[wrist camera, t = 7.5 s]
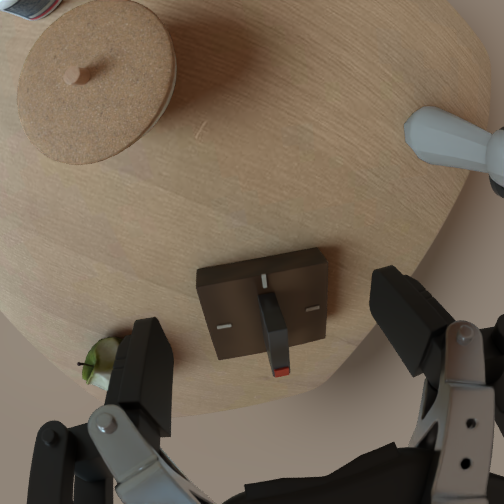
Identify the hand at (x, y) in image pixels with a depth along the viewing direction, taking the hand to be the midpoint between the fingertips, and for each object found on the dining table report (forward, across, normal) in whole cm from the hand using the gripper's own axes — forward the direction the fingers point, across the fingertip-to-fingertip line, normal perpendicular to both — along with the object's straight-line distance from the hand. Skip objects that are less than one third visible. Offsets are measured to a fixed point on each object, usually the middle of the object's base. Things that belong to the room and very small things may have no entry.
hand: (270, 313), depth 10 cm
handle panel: (+16, -1, +12) cm, 20 cm away
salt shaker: (+16, -20, -3) cm, 26 cm away
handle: (+13, -1, +12) cm, 18 cm away
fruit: (+16, +17, +17) cm, 29 cm away
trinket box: (+16, +7, -11) cm, 21 cm away
